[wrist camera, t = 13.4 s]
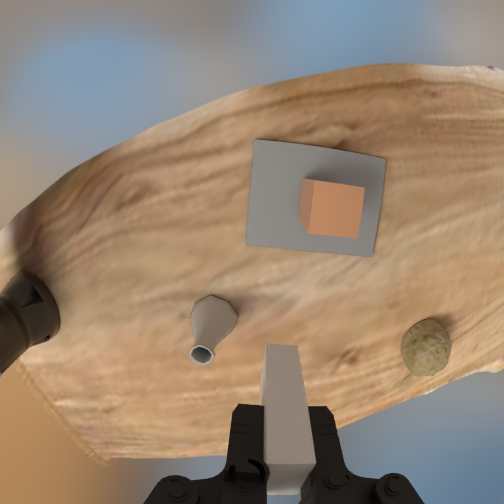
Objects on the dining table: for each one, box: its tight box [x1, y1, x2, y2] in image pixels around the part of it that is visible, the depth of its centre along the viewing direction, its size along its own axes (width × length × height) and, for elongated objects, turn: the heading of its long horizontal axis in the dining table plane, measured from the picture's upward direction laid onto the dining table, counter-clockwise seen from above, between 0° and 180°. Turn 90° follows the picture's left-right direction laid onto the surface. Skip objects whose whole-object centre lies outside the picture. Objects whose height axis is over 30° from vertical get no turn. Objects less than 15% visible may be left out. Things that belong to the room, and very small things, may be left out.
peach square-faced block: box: [298, 178, 365, 239], centre depth 30 cm, size 5×5×9 cm
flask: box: [189, 295, 238, 366], centre depth 37 cm, size 7×7×10 cm
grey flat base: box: [245, 139, 386, 257], centre depth 32 cm, size 18×14×10 cm
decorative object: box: [401, 319, 452, 377], centre depth 40 cm, size 9×10×10 cm
